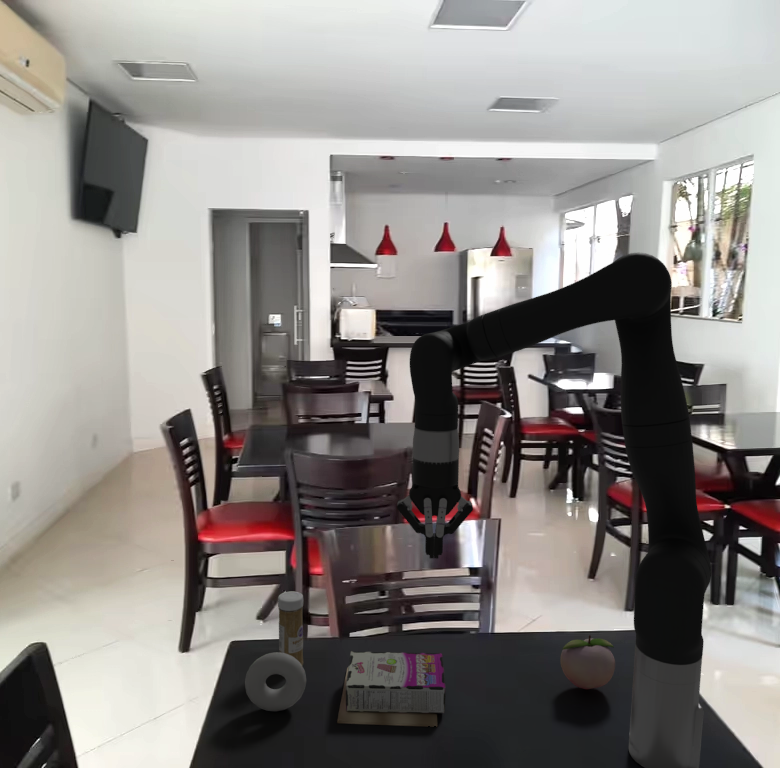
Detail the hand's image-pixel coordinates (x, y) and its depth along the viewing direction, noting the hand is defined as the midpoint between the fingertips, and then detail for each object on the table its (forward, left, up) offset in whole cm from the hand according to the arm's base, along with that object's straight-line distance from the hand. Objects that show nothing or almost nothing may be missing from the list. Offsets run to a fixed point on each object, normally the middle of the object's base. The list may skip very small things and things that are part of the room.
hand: (434, 556), depth 119 cm
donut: (+26, +5, -25) cm, 36 cm away
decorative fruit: (-27, -4, -25) cm, 37 cm away
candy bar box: (-2, 0, -22) cm, 22 cm away
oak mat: (+7, 0, -25) cm, 26 cm away
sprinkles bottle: (+26, -9, -25) cm, 37 cm away
